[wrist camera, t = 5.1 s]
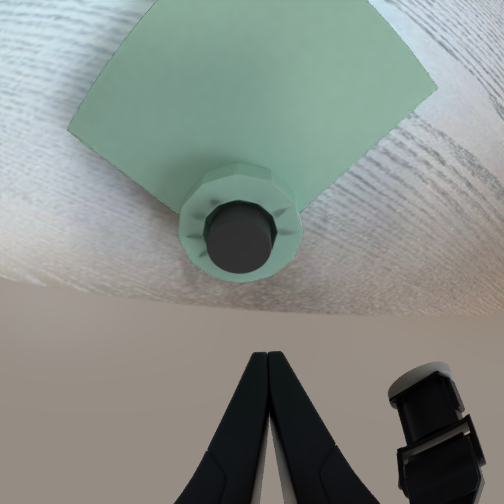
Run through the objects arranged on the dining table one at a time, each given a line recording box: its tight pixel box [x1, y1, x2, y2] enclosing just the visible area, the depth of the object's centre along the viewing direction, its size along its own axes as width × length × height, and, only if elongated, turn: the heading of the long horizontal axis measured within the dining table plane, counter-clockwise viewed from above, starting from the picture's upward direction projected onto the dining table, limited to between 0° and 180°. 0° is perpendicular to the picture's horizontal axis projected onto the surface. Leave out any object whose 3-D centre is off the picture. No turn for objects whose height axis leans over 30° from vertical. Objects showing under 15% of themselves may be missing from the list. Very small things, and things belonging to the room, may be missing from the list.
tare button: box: [207, 204, 272, 274], centre depth 14 cm, size 3×3×2 cm
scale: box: [67, 0, 438, 283], centre depth 13 cm, size 15×13×3 cm
